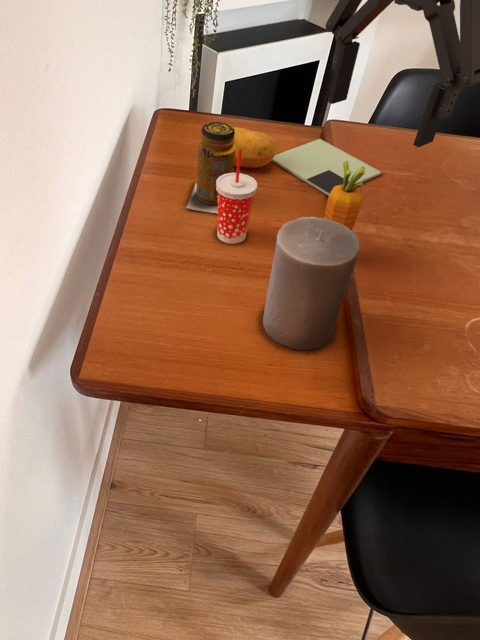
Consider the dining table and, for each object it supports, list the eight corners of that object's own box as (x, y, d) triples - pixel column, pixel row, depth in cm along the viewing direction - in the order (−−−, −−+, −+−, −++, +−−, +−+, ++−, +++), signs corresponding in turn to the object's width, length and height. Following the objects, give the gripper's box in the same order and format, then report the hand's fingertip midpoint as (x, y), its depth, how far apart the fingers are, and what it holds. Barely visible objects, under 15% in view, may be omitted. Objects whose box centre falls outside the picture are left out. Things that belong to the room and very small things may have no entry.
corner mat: (380, 174, 99) (381, 171, 99) (330, 196, 93) (330, 193, 93) (319, 140, 107) (319, 138, 107) (268, 159, 101) (269, 156, 101)
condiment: (236, 189, 93) (243, 121, 84) (228, 215, 88) (235, 145, 79) (195, 184, 94) (198, 115, 85) (186, 209, 88) (187, 139, 79)
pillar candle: (345, 343, 69) (380, 248, 58) (277, 357, 67) (298, 261, 56) (315, 296, 75) (340, 201, 64) (251, 307, 73) (265, 211, 62)
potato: (266, 181, 96) (271, 145, 90) (196, 164, 99) (198, 128, 94) (279, 163, 100) (284, 127, 95) (212, 146, 103) (214, 111, 98)
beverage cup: (226, 219, 87) (233, 135, 76) (257, 233, 85) (270, 148, 74) (204, 236, 84) (209, 151, 73) (237, 251, 81) (247, 165, 71)
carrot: (311, 246, 83) (334, 154, 72) (343, 247, 83) (370, 156, 72) (315, 265, 80) (339, 172, 69) (348, 267, 80) (377, 174, 69)
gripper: (321, -132, 53) (285, 91, 69) (552, -86, 41) (444, 173, 57) (370, -134, 56) (325, 80, 72) (599, -92, 44) (484, 155, 60)
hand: (377, 121), depth 65 cm, fingers open, 13 cm apart
